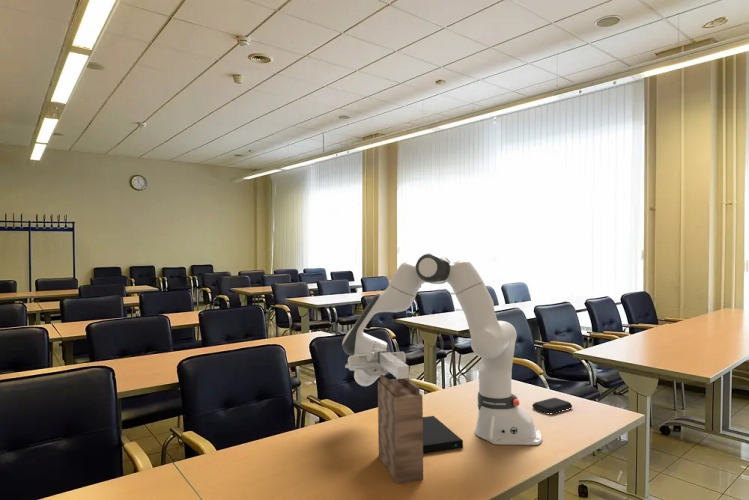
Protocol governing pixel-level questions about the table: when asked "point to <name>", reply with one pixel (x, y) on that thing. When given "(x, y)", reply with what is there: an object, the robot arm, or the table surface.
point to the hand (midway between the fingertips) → (381, 354)
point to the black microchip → (552, 405)
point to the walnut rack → (400, 428)
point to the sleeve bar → (392, 363)
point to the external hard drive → (438, 436)
